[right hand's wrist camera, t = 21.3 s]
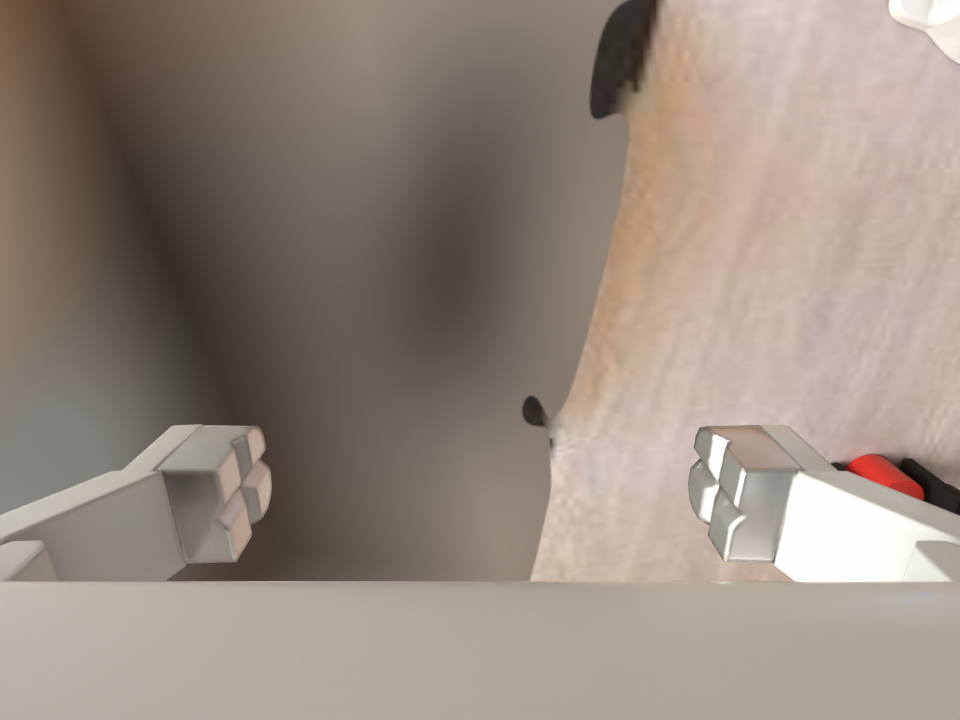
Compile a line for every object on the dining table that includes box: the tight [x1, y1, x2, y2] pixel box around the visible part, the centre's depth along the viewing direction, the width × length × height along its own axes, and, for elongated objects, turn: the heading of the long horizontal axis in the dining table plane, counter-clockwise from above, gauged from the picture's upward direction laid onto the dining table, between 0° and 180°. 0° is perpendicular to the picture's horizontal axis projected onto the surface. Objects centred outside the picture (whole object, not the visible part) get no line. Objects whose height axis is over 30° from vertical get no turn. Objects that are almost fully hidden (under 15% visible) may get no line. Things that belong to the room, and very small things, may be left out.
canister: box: [846, 454, 924, 501], centre depth 51 cm, size 4×4×4 cm
